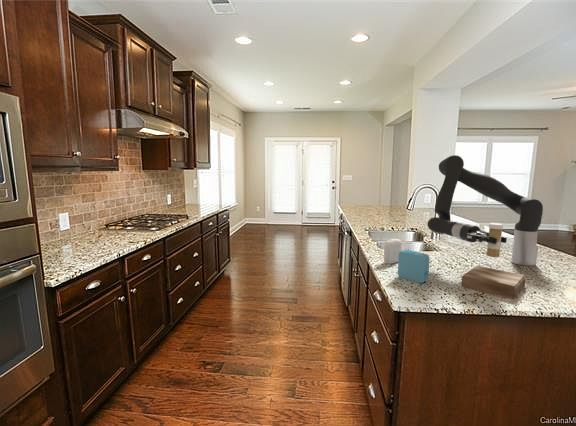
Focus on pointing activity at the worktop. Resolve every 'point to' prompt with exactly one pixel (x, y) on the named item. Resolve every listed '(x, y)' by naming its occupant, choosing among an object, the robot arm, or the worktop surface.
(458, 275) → the worktop surface
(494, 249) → the sprinkles bottle
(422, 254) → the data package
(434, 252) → the worktop surface
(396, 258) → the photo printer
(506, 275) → the walnut riser
